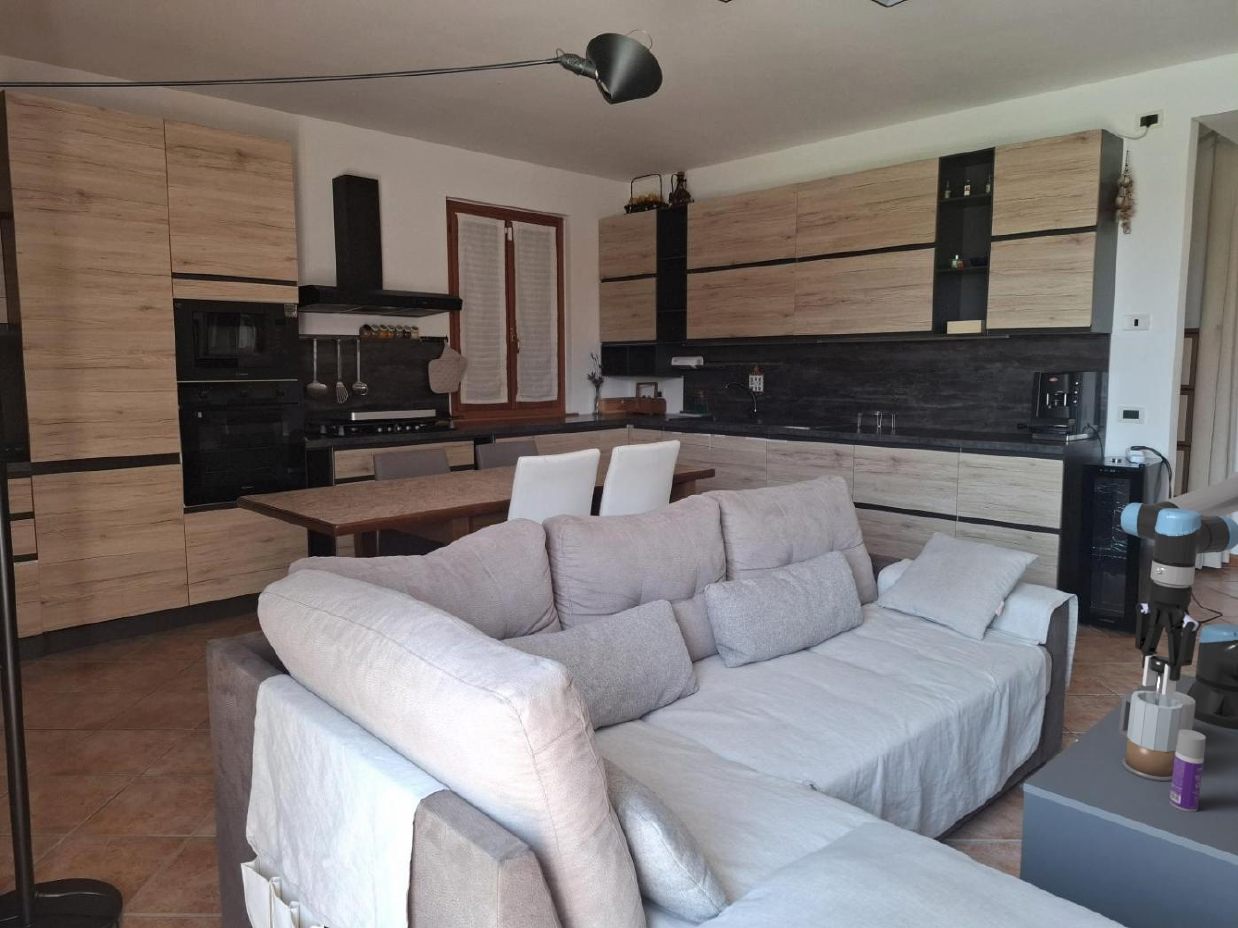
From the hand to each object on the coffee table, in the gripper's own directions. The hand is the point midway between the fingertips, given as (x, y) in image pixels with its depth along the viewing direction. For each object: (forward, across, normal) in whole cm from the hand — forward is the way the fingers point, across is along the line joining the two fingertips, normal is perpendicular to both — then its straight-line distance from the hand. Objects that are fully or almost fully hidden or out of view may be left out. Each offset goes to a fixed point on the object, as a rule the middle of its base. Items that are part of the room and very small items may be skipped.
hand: (1158, 688), depth 178 cm
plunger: (+11, 0, 0) cm, 11 cm away
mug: (+19, -10, +18) cm, 28 cm away
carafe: (+18, -1, 0) cm, 18 cm away
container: (+19, +13, -6) cm, 23 cm away
